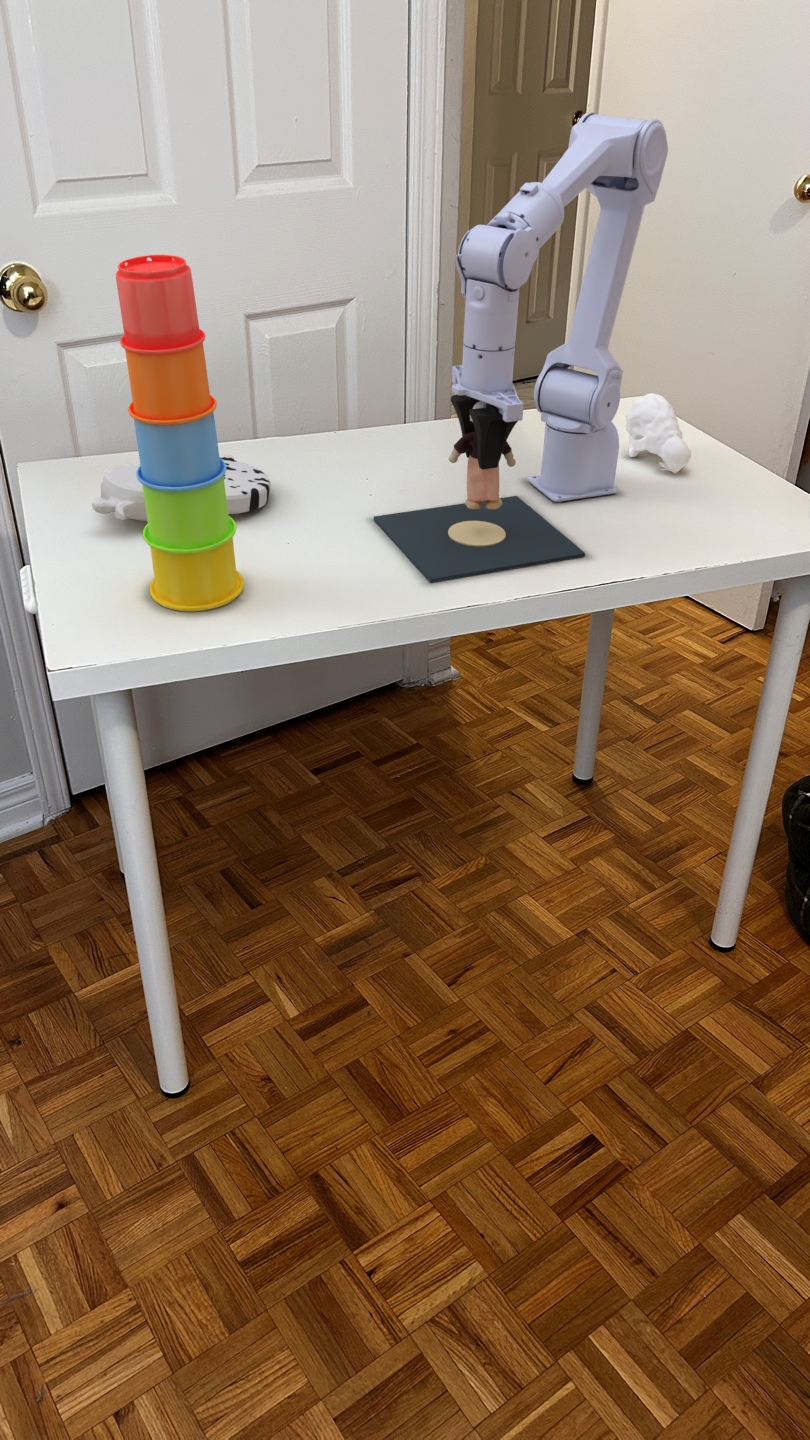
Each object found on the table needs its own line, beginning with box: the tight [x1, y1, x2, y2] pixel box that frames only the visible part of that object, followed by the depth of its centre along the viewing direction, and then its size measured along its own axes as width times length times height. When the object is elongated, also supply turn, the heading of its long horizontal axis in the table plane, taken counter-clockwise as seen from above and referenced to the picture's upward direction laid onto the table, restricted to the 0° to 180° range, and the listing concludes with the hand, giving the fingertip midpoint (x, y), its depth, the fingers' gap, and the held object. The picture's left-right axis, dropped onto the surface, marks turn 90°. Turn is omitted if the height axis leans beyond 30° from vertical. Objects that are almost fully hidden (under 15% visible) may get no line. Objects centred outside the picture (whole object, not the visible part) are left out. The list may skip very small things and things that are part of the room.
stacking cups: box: [115, 254, 245, 612], centre depth 114 cm, size 10×10×35 cm
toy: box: [91, 454, 272, 522], centre depth 142 cm, size 22×5×20 cm
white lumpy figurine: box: [625, 392, 692, 474], centre depth 157 cm, size 6×8×12 cm
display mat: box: [373, 495, 586, 583], centre depth 137 cm, size 20×18×1 cm
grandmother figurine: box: [448, 401, 517, 510], centre depth 131 cm, size 8×4×13 cm, turn 99°
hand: (481, 461), depth 132 cm, fingers closed on grandmother figurine, 3 cm apart
